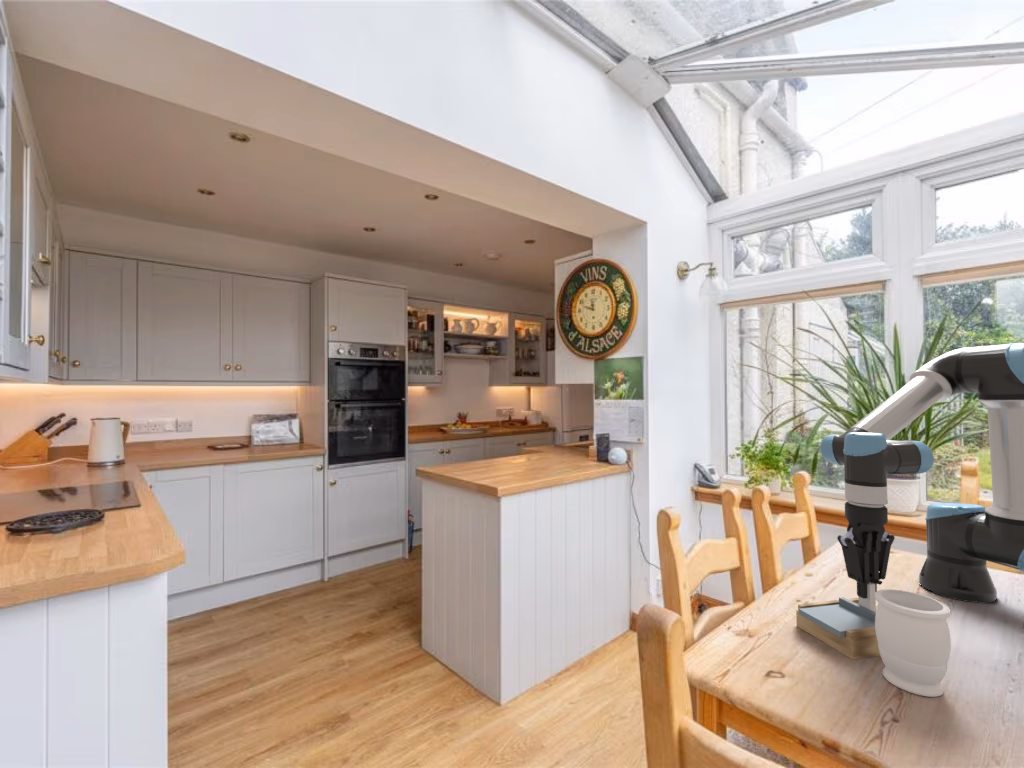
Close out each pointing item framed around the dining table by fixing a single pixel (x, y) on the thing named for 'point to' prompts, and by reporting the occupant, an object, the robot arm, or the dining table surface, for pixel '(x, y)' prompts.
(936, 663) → the jar
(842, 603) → the cover plate
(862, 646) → the slide box
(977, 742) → the dining table surface
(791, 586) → the dining table surface
